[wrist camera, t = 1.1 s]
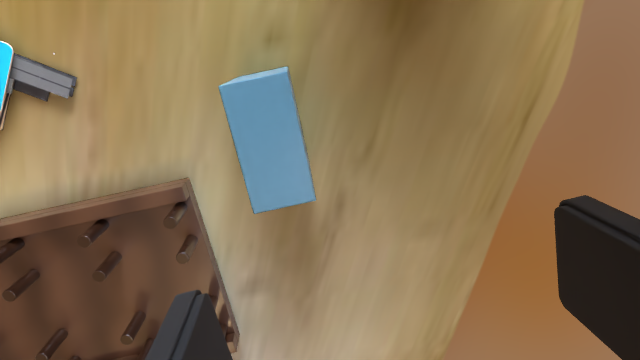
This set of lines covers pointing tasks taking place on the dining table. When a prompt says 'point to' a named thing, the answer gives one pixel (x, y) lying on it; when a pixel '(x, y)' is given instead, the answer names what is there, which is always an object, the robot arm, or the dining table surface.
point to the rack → (104, 274)
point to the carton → (268, 139)
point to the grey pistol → (29, 79)
